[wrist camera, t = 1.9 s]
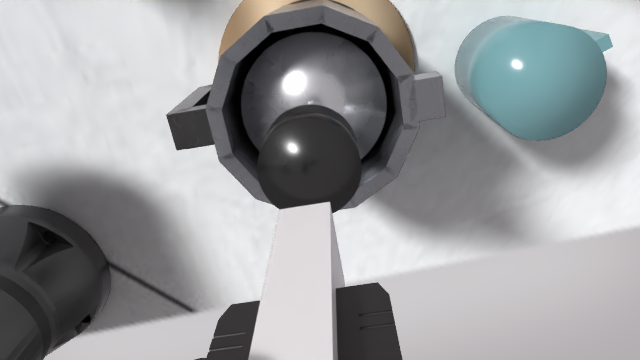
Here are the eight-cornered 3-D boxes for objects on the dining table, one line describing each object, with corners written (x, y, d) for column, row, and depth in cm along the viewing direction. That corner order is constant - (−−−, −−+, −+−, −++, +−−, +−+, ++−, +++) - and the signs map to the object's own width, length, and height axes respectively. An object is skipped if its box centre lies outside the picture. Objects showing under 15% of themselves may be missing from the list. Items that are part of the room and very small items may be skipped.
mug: (476, 124, 45) (514, 159, 36) (439, 46, 42) (470, 63, 33) (578, 72, 43) (644, 94, 34) (546, -13, 40) (608, -12, 32)
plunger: (260, 181, 34) (229, 278, 23) (227, 45, 30) (172, 81, 19) (393, 160, 33) (428, 249, 22) (375, 18, 30) (406, 39, 19)
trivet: (244, 177, 47) (243, 179, 46) (197, -12, 40) (195, -11, 40) (422, 148, 46) (423, 150, 45) (402, -51, 39) (403, -51, 39)
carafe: (229, 158, 45) (187, 235, 31) (193, 19, 41) (126, 38, 27) (411, 128, 44) (451, 194, 30) (395, -18, 40) (434, -19, 26)
